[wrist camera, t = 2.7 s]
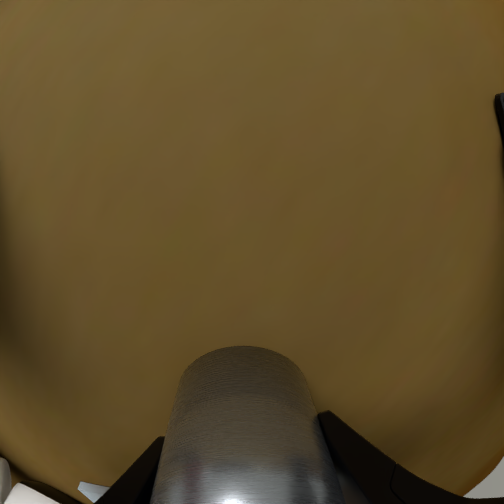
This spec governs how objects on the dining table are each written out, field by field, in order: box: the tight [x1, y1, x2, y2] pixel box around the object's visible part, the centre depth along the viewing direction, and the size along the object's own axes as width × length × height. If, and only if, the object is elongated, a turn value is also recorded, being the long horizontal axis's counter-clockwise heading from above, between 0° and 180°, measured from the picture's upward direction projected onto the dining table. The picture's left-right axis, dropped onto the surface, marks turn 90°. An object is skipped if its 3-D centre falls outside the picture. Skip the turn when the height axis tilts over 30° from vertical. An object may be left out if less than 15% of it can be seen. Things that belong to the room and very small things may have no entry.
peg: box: [150, 346, 346, 504], centre depth 6 cm, size 5×5×8 cm
